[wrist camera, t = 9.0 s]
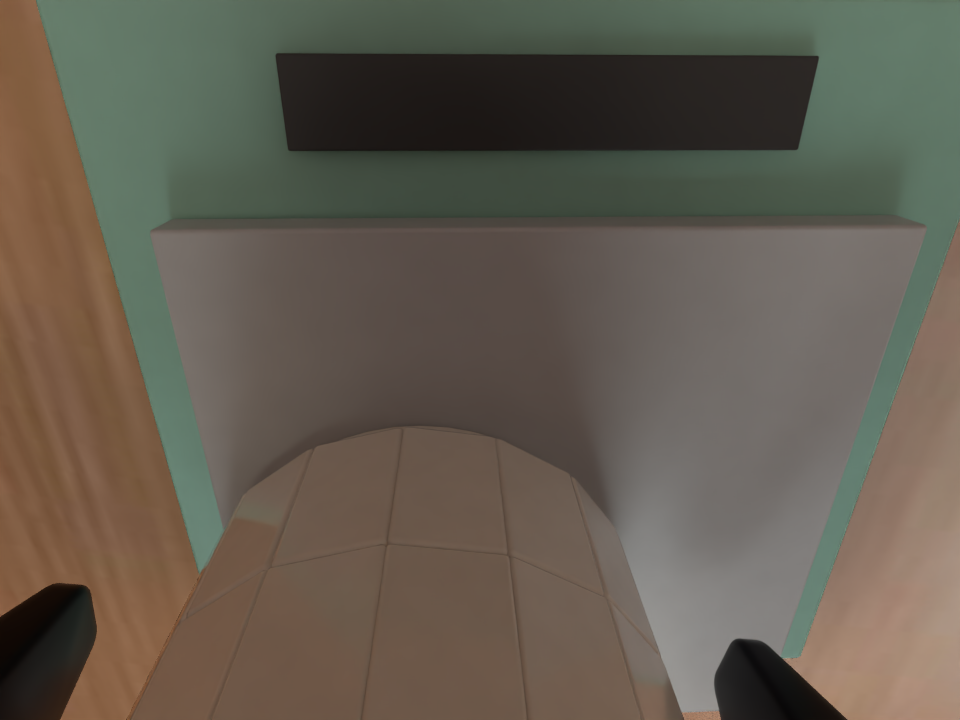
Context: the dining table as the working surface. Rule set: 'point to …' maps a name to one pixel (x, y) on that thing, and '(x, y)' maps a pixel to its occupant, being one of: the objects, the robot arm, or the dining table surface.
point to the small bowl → (413, 595)
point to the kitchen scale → (536, 254)
